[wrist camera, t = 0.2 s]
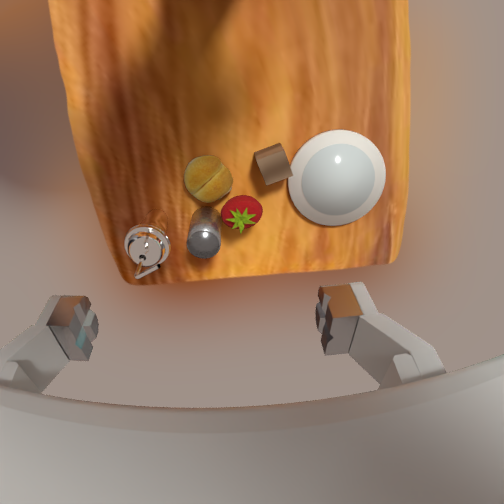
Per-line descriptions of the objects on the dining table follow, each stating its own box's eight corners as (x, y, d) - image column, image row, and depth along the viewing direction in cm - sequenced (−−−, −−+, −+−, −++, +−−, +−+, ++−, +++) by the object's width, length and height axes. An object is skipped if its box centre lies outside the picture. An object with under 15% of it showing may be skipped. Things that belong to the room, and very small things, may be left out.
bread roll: (207, 145, 55) (207, 152, 51) (239, 179, 59) (240, 188, 56) (174, 174, 57) (171, 182, 54) (206, 205, 61) (205, 215, 58)
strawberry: (262, 209, 63) (267, 236, 55) (225, 216, 63) (224, 243, 55) (257, 182, 60) (262, 205, 51) (218, 190, 60) (216, 214, 52)
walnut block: (254, 152, 56) (256, 160, 52) (279, 142, 56) (284, 150, 52) (263, 175, 59) (266, 185, 55) (288, 166, 58) (293, 175, 54)
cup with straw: (132, 203, 60) (100, 261, 44) (176, 196, 60) (155, 255, 44) (143, 238, 65) (118, 304, 48) (184, 233, 65) (170, 300, 48)
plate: (288, 128, 54) (289, 129, 53) (388, 132, 55) (391, 134, 54) (286, 224, 65) (287, 228, 64) (375, 221, 66) (378, 224, 65)
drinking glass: (190, 207, 62) (184, 231, 54) (220, 205, 62) (219, 229, 54) (193, 233, 65) (188, 260, 57) (222, 232, 65) (221, 258, 58)
